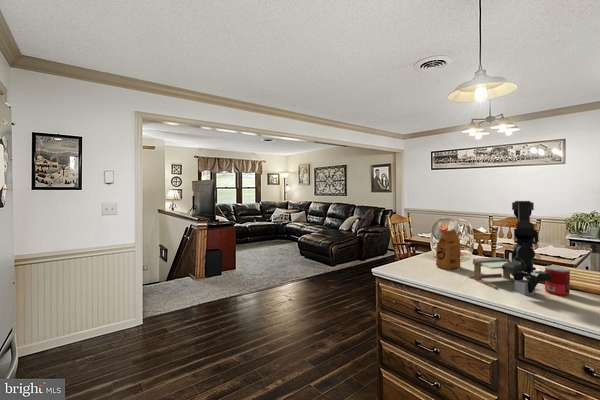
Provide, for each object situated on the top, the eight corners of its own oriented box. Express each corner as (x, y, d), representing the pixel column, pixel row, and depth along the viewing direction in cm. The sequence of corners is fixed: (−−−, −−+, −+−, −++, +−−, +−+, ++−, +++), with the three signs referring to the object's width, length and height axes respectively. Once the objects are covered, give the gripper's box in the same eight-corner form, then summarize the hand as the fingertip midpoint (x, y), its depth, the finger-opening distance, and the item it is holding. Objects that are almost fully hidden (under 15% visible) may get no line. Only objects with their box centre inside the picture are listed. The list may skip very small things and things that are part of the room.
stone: (524, 290, 129) (524, 279, 129) (535, 294, 124) (535, 283, 124) (514, 291, 129) (514, 280, 129) (524, 295, 124) (524, 284, 124)
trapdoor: (472, 264, 148) (472, 258, 148) (497, 262, 150) (497, 257, 150) (491, 271, 136) (491, 265, 136) (518, 269, 137) (518, 263, 137)
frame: (468, 277, 149) (468, 259, 148) (501, 275, 151) (501, 257, 150) (494, 289, 132) (494, 268, 132) (530, 286, 134) (530, 265, 134)
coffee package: (433, 266, 171) (432, 229, 171) (449, 263, 176) (448, 227, 175) (447, 270, 162) (446, 231, 161) (463, 267, 166) (463, 229, 166)
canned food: (571, 297, 120) (572, 271, 120) (546, 294, 124) (546, 268, 124) (567, 291, 127) (567, 266, 126) (543, 288, 131) (543, 264, 130)
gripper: (491, 251, 134) (491, 284, 135) (527, 261, 116) (527, 300, 116) (513, 250, 135) (513, 283, 136) (552, 260, 117) (551, 298, 118)
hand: (524, 290), depth 127 cm, fingers closed on stone, 5 cm apart
